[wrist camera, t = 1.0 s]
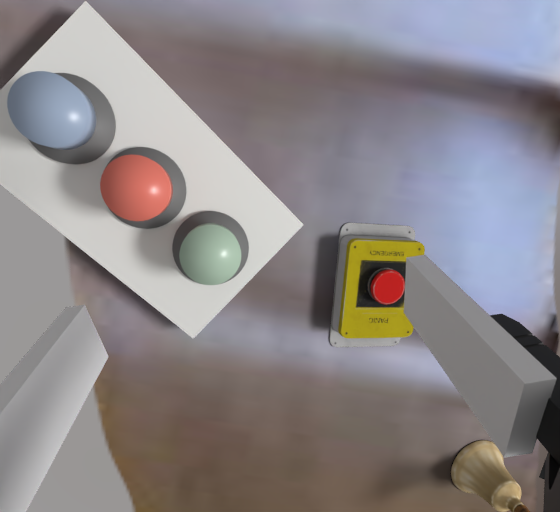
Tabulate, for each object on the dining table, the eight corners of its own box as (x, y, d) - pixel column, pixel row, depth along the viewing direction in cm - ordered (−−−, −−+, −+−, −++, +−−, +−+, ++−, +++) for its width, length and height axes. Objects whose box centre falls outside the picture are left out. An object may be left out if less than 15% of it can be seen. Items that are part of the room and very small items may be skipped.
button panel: (195, 327, 37) (193, 340, 34) (-26, 148, 30) (-56, 143, 27) (296, 222, 37) (304, 225, 34) (97, 19, 30) (83, -2, 27)
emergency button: (436, 229, 36) (417, 360, 39) (413, 225, 40) (397, 343, 43) (354, 225, 34) (340, 362, 37) (339, 221, 39) (327, 345, 41)
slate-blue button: (66, 163, 28) (53, 161, 26) (8, 114, 26) (-10, 107, 24) (110, 117, 28) (101, 111, 26) (55, 65, 26) (40, 54, 24)
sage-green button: (212, 290, 32) (212, 297, 30) (169, 252, 30) (166, 257, 28) (251, 250, 32) (253, 254, 30) (209, 211, 30) (209, 212, 28)
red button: (144, 231, 30) (139, 234, 28) (95, 188, 28) (85, 188, 26) (185, 188, 30) (183, 188, 28) (137, 143, 28) (131, 140, 26)
